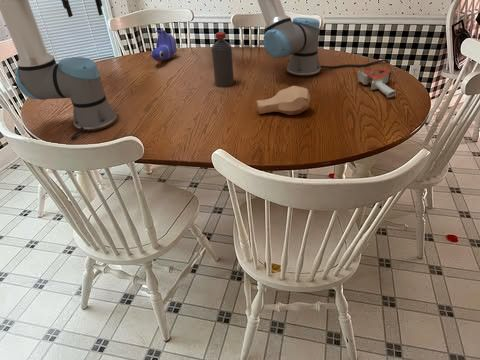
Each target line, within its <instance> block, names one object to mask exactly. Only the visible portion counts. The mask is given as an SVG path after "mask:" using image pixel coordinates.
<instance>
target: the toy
mask: <svg viewBox="0 0 480 360" xmlns="http://www.w3.org/2000/svg"><path fill="white" fill-rule="evenodd" d="M155 33H158V34H157V38H156V42H155V43H156V45H155V48H151V50H152V51H151V53H150V56H151V58H152V59H153V60H154V61H155V62H157V64H158V65H159V66H161V63H162V61H166V60H169V59H171V58H173V57H174V55H175V54H176V53H177V50H178V45H177V41H176V39H175V37H174V36H173V35H172V34H171V33H168V32H166V30H164V29H157V30H155Z"/></svg>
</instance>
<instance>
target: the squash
mask: <svg viewBox="0 0 480 360" xmlns="http://www.w3.org/2000/svg"><path fill="white" fill-rule="evenodd" d="M311 98H312V97H311V95H310V90H309V89H307V88H306V87H302V86H298V85H292V86H289V87H287V88H283V89H280V90H279V91H277V92H276V94H275V95H274V96H272V97H271V98H265V99H257V100H256V102H255V103H256V107H257V109H256V110H257V113H258V114H259V115H263V114H266V113H273V112H275V113H282V114H284V115H287V116H295V115H300V114H301V113H303V112H305V111H306V110H308V109H309V107H310V102H311Z"/></svg>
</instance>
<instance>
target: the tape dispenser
mask: <svg viewBox="0 0 480 360" xmlns="http://www.w3.org/2000/svg"><path fill="white" fill-rule="evenodd" d="M377 71H378V72H377ZM375 72H377V74H374V73H375ZM391 77H392V70H391V69H390V68H388V67H387V66H386V67H377V68H373V69H372V68H371V69H366V70H358V71H357V82H361V83H362V85H367V86H368V85H369V83H370V82H371V84H370V85H371V86H370V90H371V91H375V90H379V91H380V92H381V93H382V94H384V95H385V96H386V98H387V99H389V98H390V99H391V98H392V97H394V96H395V95H396V90H395V89H392V88H391V87H389V86H388V85H387V84H388V83H389V82H390V80H391Z"/></svg>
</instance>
